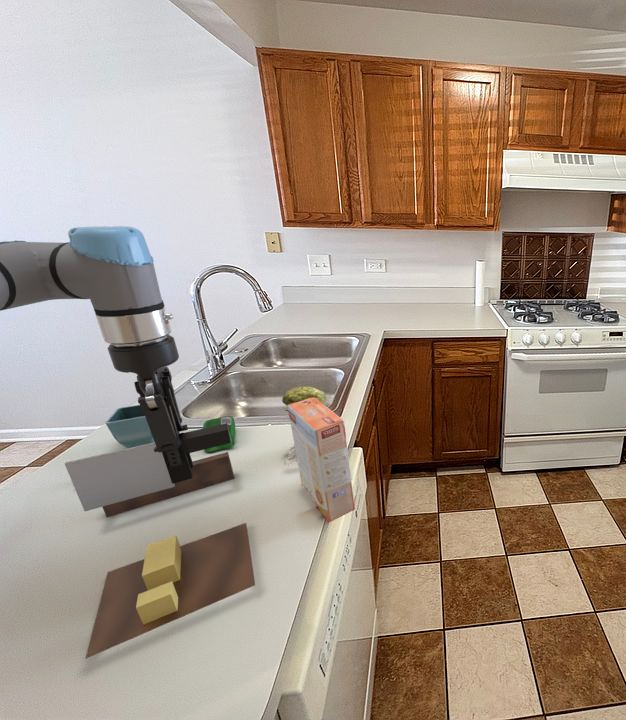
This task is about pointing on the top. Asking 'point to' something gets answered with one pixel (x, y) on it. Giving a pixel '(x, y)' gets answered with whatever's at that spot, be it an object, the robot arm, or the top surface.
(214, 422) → the snack package
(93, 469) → the cleaver
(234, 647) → the top surface
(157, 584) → the butter stick
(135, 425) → the flower pot
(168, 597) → the butter pat
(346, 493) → the cracker box
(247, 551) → the cutting board
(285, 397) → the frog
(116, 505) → the knife stand
